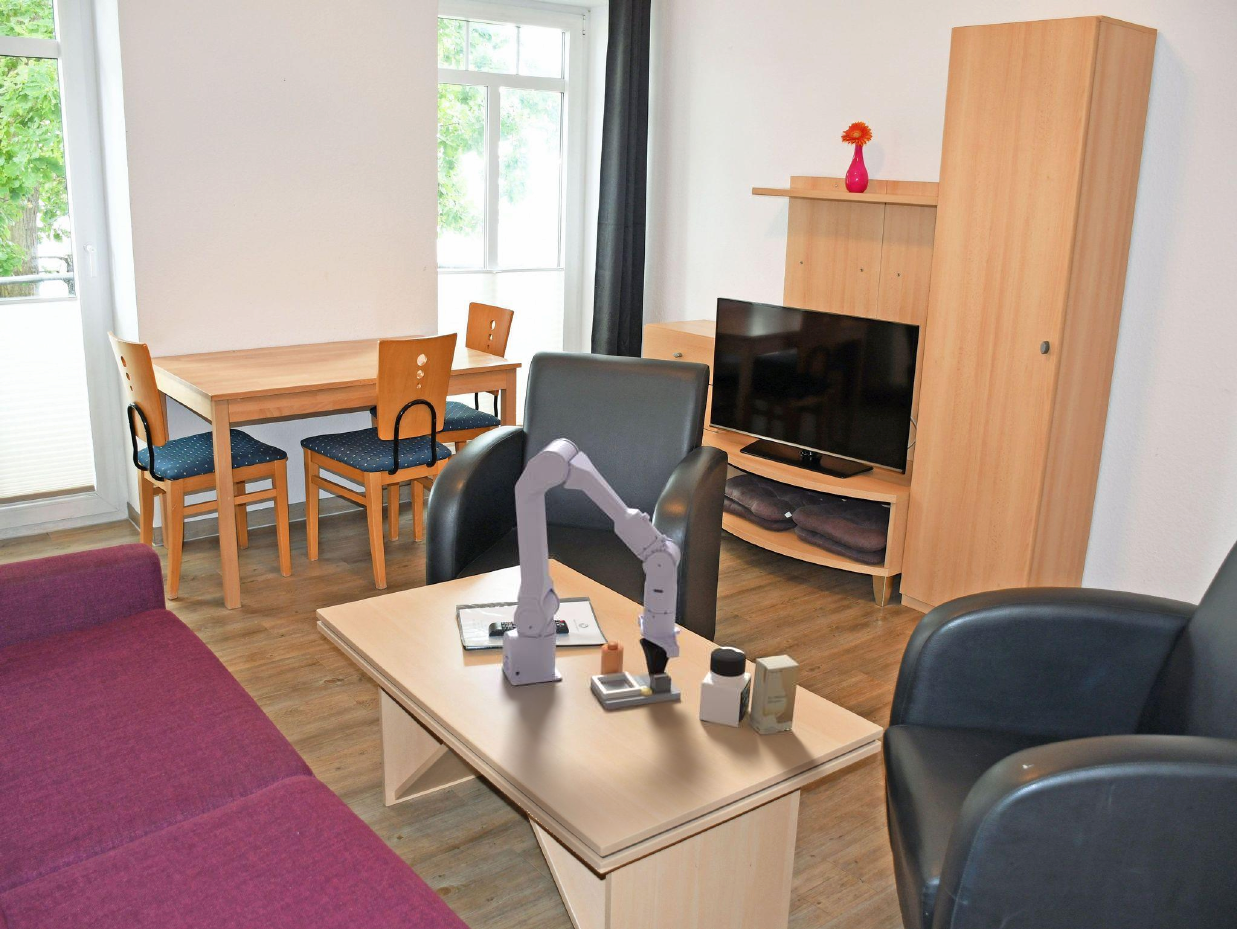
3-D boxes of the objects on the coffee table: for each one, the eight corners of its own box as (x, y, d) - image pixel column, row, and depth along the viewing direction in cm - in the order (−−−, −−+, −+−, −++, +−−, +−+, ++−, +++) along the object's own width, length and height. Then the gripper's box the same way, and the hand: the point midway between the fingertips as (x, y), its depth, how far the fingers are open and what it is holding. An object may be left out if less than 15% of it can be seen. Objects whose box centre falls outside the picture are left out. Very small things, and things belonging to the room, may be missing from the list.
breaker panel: (606, 709, 189) (607, 697, 188) (590, 687, 197) (590, 676, 196) (680, 698, 194) (681, 687, 193) (662, 677, 202) (662, 667, 201)
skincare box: (761, 736, 182) (767, 669, 179) (748, 723, 186) (753, 658, 183) (794, 729, 185) (800, 664, 182) (780, 717, 189) (786, 653, 185)
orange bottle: (604, 683, 198) (606, 649, 197) (597, 674, 202) (598, 640, 200) (625, 681, 200) (626, 647, 198) (617, 671, 203) (619, 638, 201)
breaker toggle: (655, 693, 193) (655, 679, 192) (649, 686, 195) (650, 673, 194) (670, 690, 194) (671, 677, 193) (665, 684, 196) (666, 671, 196)
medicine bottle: (738, 728, 184) (744, 664, 181) (698, 720, 187) (702, 656, 184) (748, 710, 191) (754, 647, 188) (709, 702, 193) (714, 639, 190)
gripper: (697, 621, 188) (692, 692, 191) (664, 590, 201) (660, 657, 204) (659, 625, 185) (655, 698, 189) (628, 594, 198) (625, 662, 202)
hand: (655, 677), depth 196 cm, fingers closed
